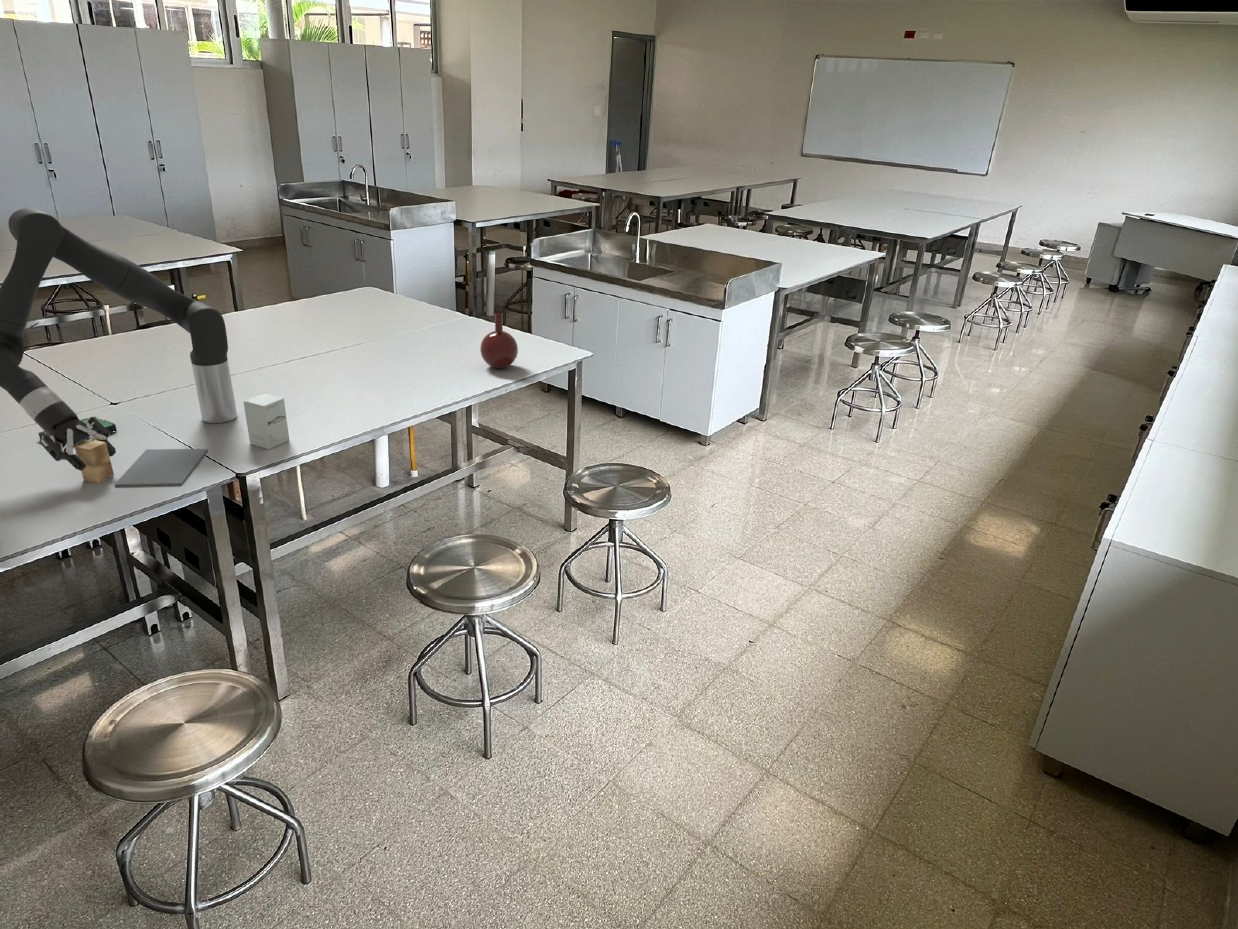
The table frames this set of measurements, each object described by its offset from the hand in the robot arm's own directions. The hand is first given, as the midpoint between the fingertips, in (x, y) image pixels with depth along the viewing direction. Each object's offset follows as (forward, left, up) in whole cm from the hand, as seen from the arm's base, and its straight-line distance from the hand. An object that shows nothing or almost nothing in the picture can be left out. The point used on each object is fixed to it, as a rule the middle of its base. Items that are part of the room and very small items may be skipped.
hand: (99, 461), depth 191 cm
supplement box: (-21, +34, -5) cm, 40 cm away
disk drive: (-27, -17, -5) cm, 32 cm away
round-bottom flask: (-84, +97, -5) cm, 128 cm away
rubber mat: (-6, +12, -5) cm, 14 cm away
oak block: (-1, -1, -5) cm, 5 cm away
